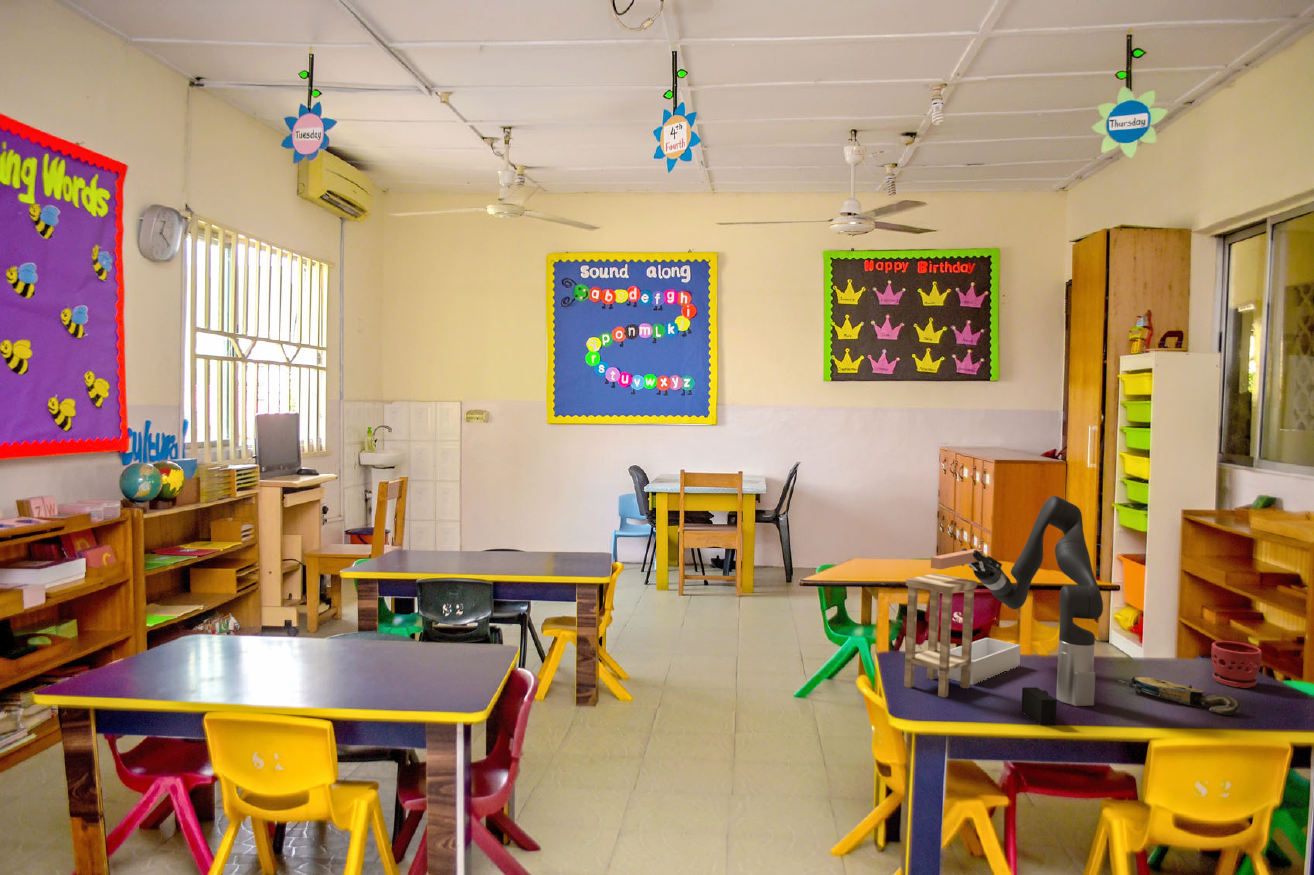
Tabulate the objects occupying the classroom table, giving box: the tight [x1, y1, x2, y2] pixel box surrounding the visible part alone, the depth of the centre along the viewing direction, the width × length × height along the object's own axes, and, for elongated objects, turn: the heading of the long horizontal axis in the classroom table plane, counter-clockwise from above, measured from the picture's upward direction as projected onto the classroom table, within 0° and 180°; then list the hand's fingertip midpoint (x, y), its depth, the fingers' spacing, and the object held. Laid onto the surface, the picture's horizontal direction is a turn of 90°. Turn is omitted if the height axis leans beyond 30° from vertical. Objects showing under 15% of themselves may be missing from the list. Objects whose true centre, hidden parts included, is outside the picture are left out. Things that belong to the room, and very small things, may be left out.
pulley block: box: [1118, 676, 1242, 716], centre depth 255 cm, size 14×6×30 cm
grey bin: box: [936, 637, 1021, 686], centre depth 279 cm, size 32×12×7 cm, turn 133°
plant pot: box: [1210, 640, 1263, 689], centre depth 274 cm, size 13×13×12 cm
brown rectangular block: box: [930, 548, 984, 570], centre depth 266 cm, size 26×3×3 cm, turn 133°
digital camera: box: [1020, 686, 1058, 726], centre depth 236 cm, size 10×5×7 cm, turn 5°
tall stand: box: [903, 573, 978, 698], centre depth 261 cm, size 16×14×32 cm
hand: (969, 551), depth 271 cm, fingers closed on brown rectangular block, 3 cm apart
